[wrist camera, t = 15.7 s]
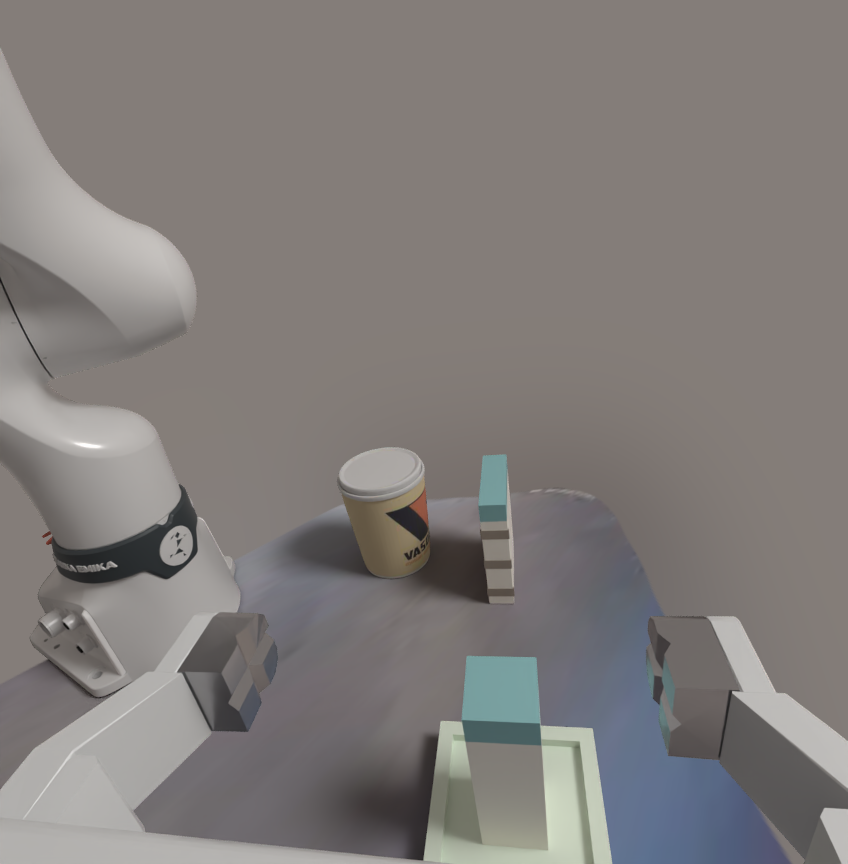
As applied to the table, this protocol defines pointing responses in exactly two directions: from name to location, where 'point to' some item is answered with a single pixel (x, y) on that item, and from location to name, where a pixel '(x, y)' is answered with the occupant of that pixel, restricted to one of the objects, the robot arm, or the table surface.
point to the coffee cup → (387, 510)
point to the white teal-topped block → (505, 750)
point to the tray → (564, 794)
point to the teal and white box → (497, 529)
